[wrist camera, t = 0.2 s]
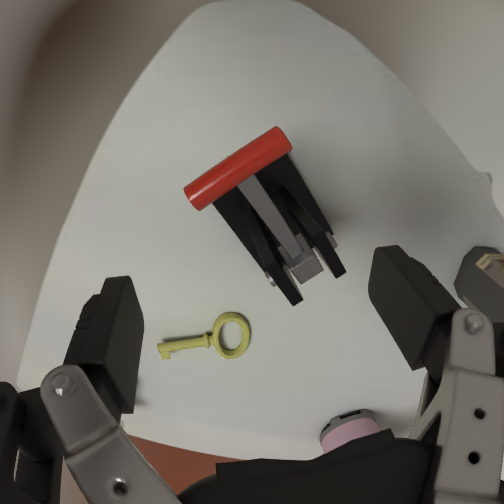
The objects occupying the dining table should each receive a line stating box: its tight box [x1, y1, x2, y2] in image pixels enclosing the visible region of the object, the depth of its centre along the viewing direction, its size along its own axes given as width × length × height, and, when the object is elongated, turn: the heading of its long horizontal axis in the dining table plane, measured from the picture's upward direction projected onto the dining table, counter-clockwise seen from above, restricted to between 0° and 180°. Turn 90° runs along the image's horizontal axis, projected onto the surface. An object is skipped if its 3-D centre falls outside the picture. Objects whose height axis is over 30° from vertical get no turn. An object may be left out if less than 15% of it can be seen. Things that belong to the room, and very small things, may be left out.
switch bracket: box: [212, 153, 346, 306], centre depth 30 cm, size 12×9×13 cm
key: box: [157, 312, 250, 360], centre depth 41 cm, size 7×12×2 cm, turn 110°
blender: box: [320, 409, 380, 454], centre depth 46 cm, size 16×12×32 cm
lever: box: [184, 126, 324, 284], centre depth 22 cm, size 13×6×2 cm, turn 32°
